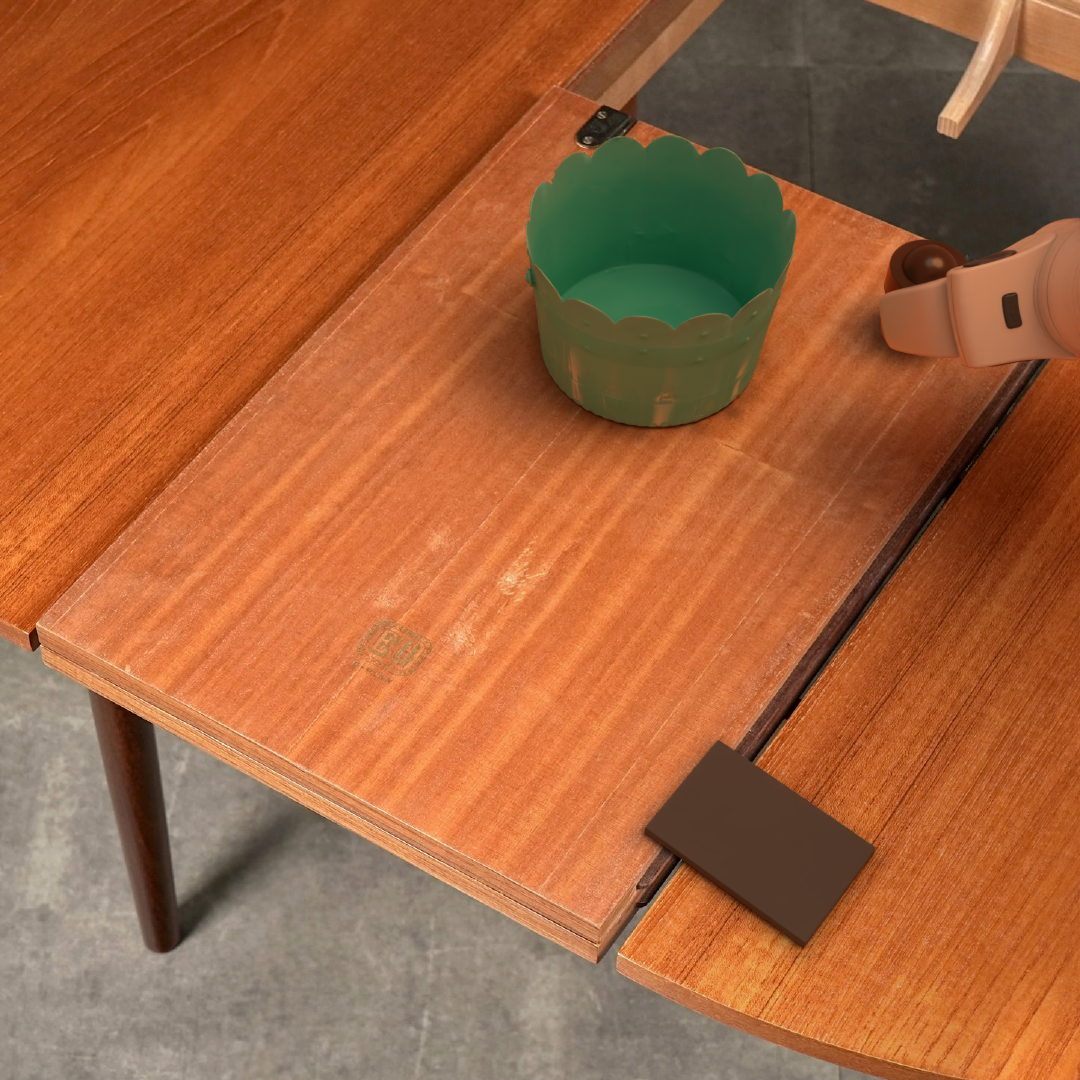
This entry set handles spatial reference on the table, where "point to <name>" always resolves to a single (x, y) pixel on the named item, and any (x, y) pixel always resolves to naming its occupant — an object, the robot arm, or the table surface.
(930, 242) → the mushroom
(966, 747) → the table surface
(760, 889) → the front mat
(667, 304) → the basket
